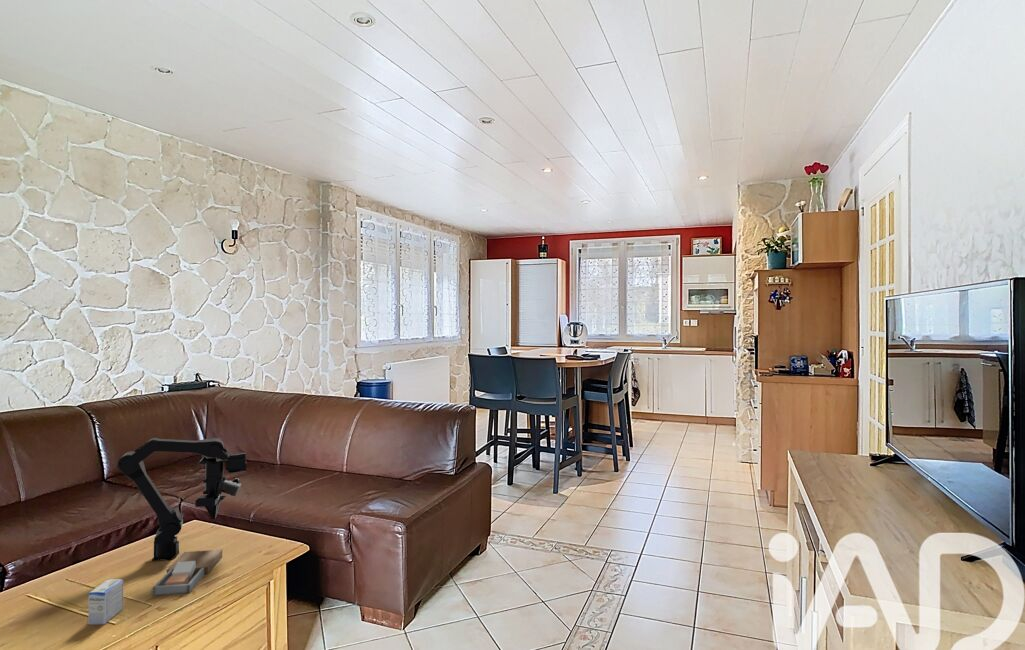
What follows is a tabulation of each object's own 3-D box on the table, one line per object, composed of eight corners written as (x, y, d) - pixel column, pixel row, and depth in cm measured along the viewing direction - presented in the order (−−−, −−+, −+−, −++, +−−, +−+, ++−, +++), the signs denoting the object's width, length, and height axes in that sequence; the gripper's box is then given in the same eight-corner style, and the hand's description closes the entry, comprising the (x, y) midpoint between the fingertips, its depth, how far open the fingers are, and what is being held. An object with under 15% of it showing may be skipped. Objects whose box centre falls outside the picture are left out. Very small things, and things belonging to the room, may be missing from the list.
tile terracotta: (165, 591, 166) (165, 582, 166) (171, 583, 171) (171, 575, 171) (183, 589, 168) (183, 581, 168) (189, 582, 172) (189, 573, 172)
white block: (172, 579, 172) (172, 573, 171) (178, 568, 177) (177, 562, 176) (190, 578, 173) (189, 571, 172) (196, 567, 178) (195, 560, 177)
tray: (152, 595, 164) (152, 587, 164) (170, 577, 176) (170, 569, 176) (189, 593, 166) (189, 584, 166) (204, 575, 178) (204, 567, 178)
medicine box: (106, 610, 156) (107, 579, 156) (123, 609, 156) (123, 578, 156) (87, 625, 148) (88, 592, 148) (105, 624, 148) (105, 592, 148)
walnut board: (166, 577, 176) (166, 569, 176) (184, 559, 190) (184, 551, 190) (207, 574, 178) (207, 567, 178) (222, 556, 192) (222, 549, 192)
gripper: (230, 481, 190) (229, 527, 190) (246, 467, 208) (245, 509, 208) (194, 482, 188) (194, 528, 188) (214, 468, 206) (213, 510, 206)
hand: (213, 518), depth 198 cm, fingers closed
